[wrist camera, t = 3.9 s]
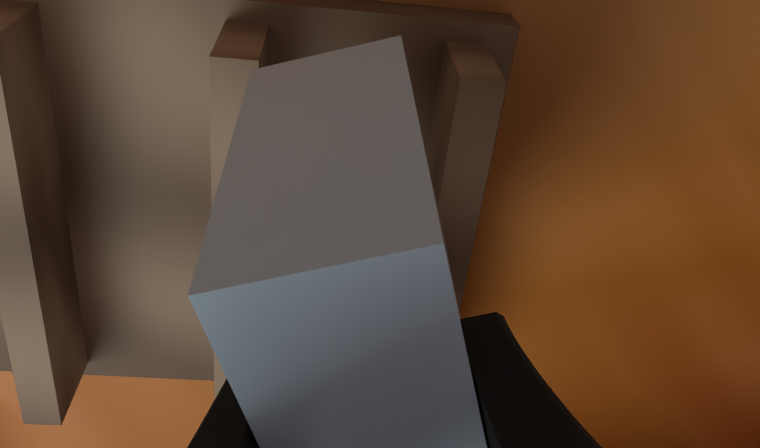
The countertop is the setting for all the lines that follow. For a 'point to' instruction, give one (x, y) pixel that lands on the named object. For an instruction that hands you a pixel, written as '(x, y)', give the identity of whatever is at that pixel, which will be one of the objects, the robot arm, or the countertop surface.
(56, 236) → the rack
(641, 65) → the countertop surface
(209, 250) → the grey block
